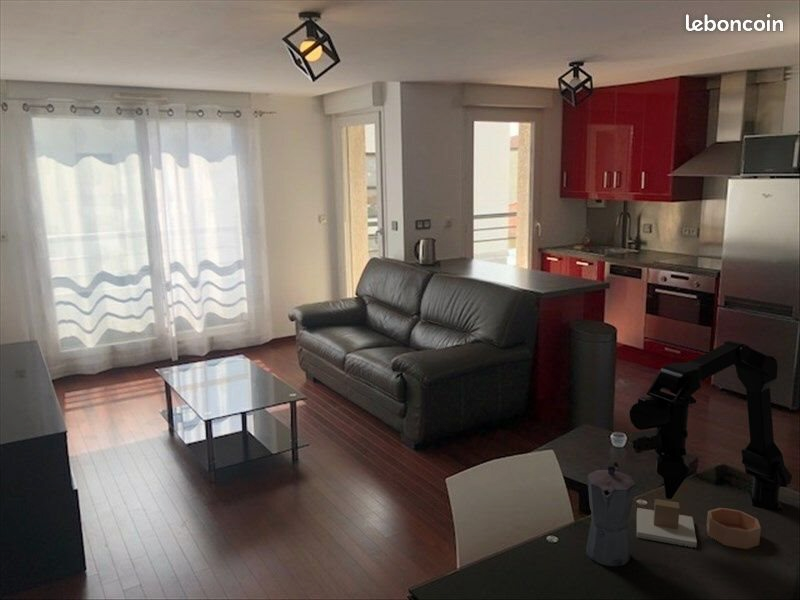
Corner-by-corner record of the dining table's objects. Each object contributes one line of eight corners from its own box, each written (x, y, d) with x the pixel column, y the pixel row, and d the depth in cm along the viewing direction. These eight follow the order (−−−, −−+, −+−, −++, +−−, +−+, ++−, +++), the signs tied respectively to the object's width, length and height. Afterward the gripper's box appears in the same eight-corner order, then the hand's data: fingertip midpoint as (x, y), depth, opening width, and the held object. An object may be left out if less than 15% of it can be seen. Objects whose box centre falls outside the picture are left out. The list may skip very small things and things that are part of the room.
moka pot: (579, 568, 127) (584, 475, 124) (586, 532, 141) (592, 447, 138) (629, 579, 124) (635, 483, 121) (631, 540, 138) (638, 454, 135)
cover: (637, 510, 150) (638, 488, 149) (691, 520, 146) (694, 496, 145) (637, 535, 139) (638, 510, 138) (696, 545, 135) (698, 520, 134)
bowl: (705, 521, 147) (706, 505, 146) (753, 529, 143) (755, 513, 143) (709, 542, 137) (711, 525, 137) (761, 551, 134) (763, 534, 133)
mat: (636, 512, 150) (636, 510, 150) (691, 522, 146) (691, 520, 146) (636, 537, 139) (636, 535, 139) (696, 548, 135) (696, 545, 135)
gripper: (634, 406, 150) (629, 468, 153) (634, 432, 133) (629, 501, 135) (685, 412, 146) (679, 475, 149) (691, 439, 129) (685, 511, 132)
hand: (667, 489), depth 141 cm, fingers open, 9 cm apart
